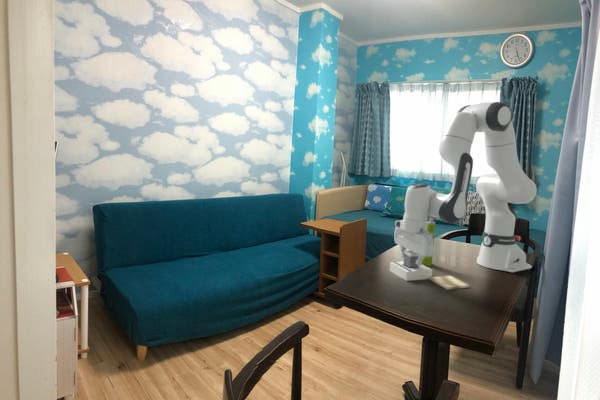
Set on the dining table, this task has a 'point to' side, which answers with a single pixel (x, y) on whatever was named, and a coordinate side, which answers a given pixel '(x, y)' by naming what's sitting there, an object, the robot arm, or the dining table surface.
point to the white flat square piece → (410, 271)
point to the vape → (431, 229)
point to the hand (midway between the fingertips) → (411, 261)
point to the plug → (410, 259)
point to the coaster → (449, 282)
